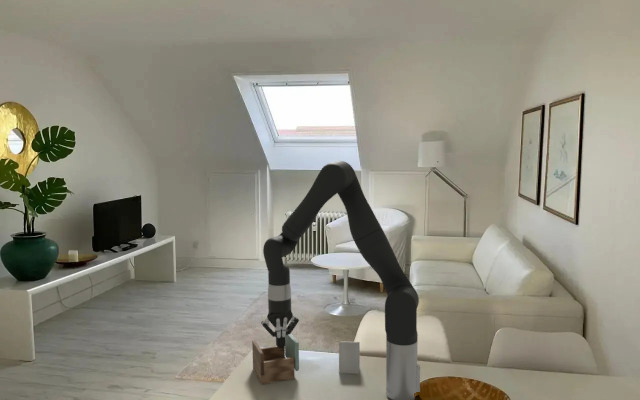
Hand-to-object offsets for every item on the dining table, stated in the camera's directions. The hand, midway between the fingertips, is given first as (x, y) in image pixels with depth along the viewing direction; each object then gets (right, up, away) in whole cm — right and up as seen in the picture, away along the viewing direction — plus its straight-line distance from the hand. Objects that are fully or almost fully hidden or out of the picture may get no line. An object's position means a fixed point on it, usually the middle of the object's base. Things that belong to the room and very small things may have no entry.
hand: (280, 347), depth 168 cm
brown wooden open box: (-2, -9, 0) cm, 9 cm away
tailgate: (+4, -6, +2) cm, 7 cm away
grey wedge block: (+23, -9, +2) cm, 25 cm away
